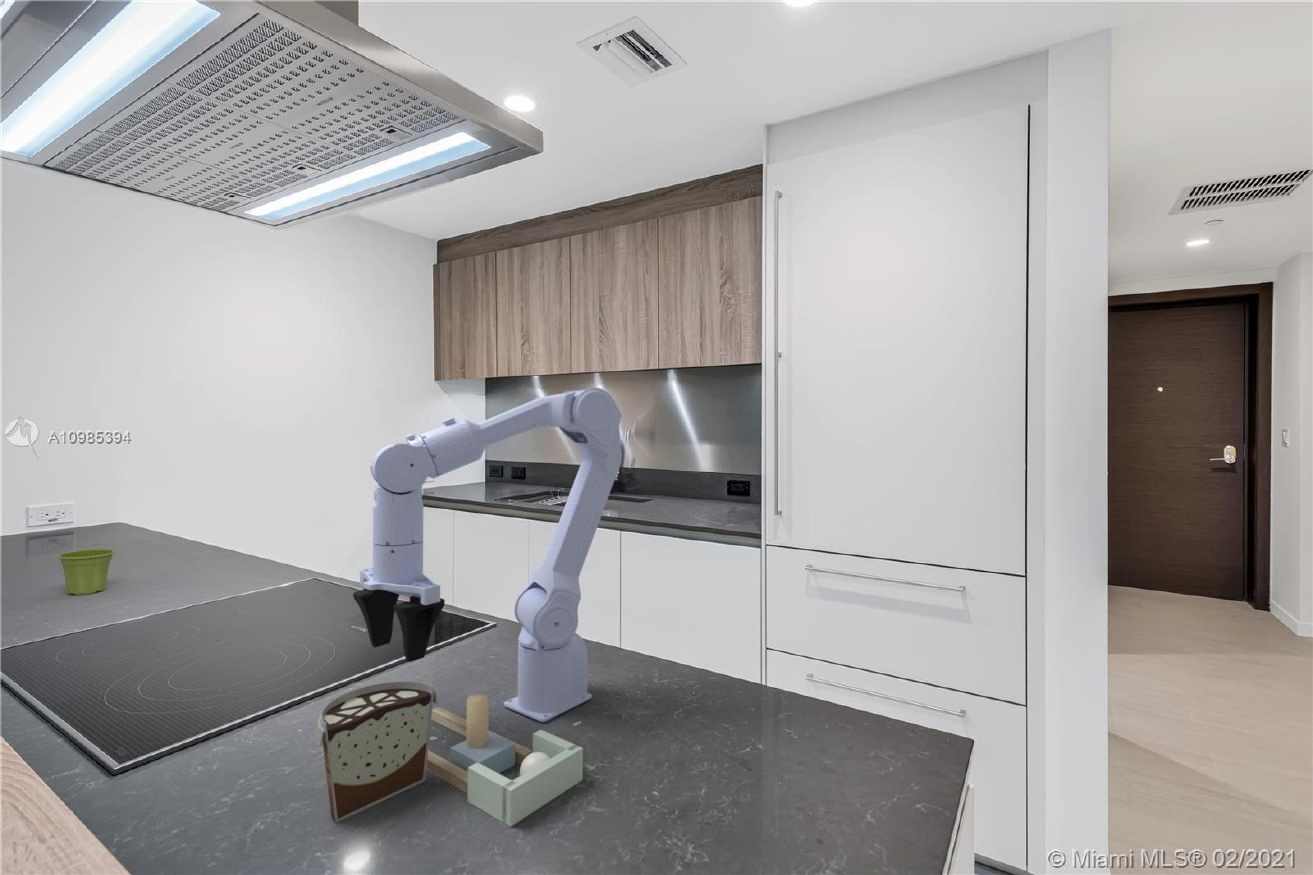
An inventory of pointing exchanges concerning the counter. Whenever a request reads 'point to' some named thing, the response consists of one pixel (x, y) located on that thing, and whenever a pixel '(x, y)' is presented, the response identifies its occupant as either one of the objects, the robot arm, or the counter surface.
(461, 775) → the lane
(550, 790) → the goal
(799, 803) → the counter surface
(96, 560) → the plant pot
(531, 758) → the ball
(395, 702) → the food container
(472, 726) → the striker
